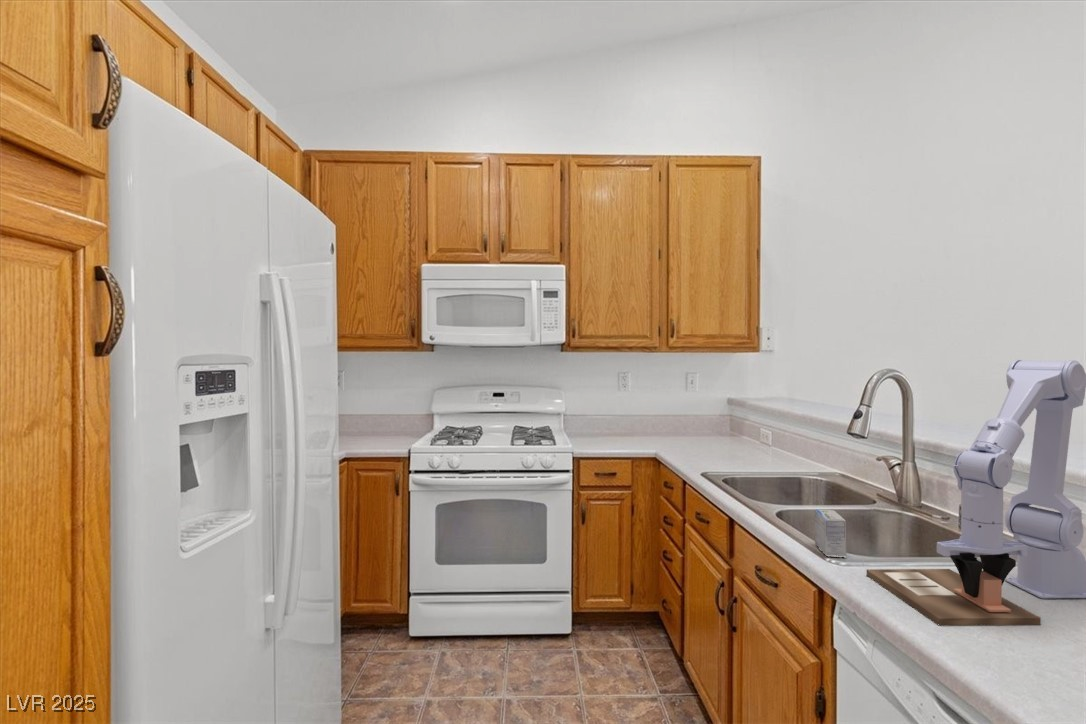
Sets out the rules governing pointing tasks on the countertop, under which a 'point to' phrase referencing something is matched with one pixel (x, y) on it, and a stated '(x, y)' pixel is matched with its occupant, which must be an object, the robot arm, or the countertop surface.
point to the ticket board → (945, 598)
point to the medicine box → (830, 532)
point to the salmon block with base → (987, 593)
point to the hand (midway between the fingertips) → (981, 595)
